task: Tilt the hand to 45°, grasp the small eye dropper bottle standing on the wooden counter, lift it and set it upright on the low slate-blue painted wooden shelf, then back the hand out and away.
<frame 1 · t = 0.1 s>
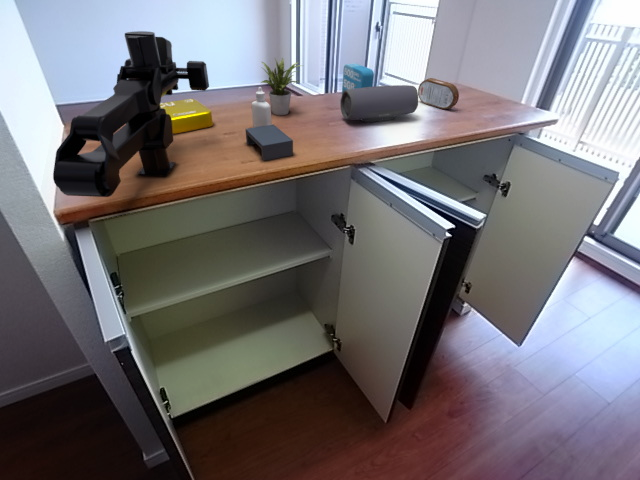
hand: (178, 66, 96), 17 cm above the worktop, tool horizontal, fingers open, 9 cm apart
shelf: (269, 149, 97), on the worktop
data package: (355, 104, 130), on the worktop
eye dropper bottle: (262, 131, 107), on the worktop
tin: (434, 106, 131), on the worktop
house plant: (283, 114, 119), on the worktop
element tile: (181, 123, 110), on the worktop
bluetooth speaker: (377, 119, 118), on the worktop
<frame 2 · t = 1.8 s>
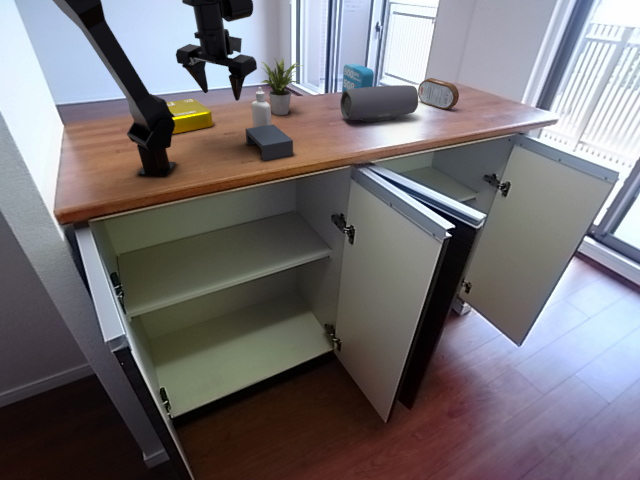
hand: (221, 96, 92), 12 cm above the worktop, tool pointing down, fingers open, 9 cm apart
nothing on the worktop moved.
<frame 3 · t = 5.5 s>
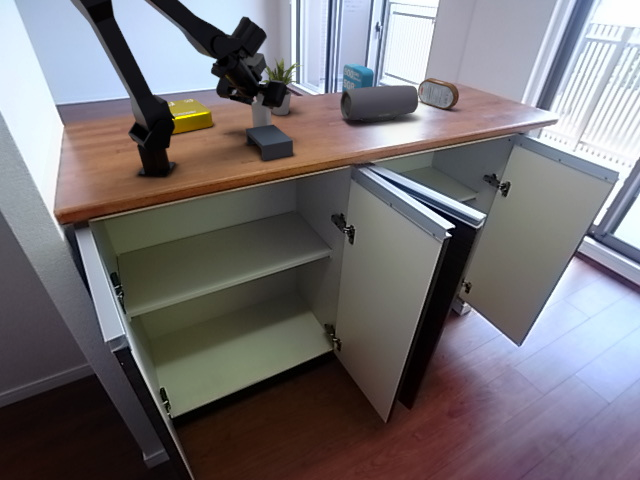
hand: (263, 106, 104), 7 cm above the worktop, tool tilted 45°, fingers closed on eye dropper bottle, 5 cm apart
eye dropper bottle: (262, 131, 107), on the worktop, touching gripper
everything else where it was.
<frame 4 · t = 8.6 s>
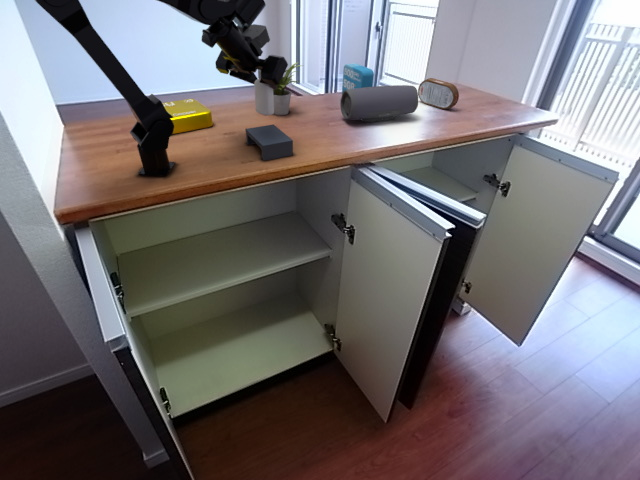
hand: (267, 86, 96), 13 cm above the worktop, tool tilted 45°, fingers closed on eye dropper bottle, 5 cm apart
eye dropper bottle: (264, 113, 99), point 7 cm above the worktop, touching gripper
everything else where it was.
when the fingers open (11 cm above the worktop, at t = 11.5 s): eye dropper bottle stays where it is, resting on shelf.
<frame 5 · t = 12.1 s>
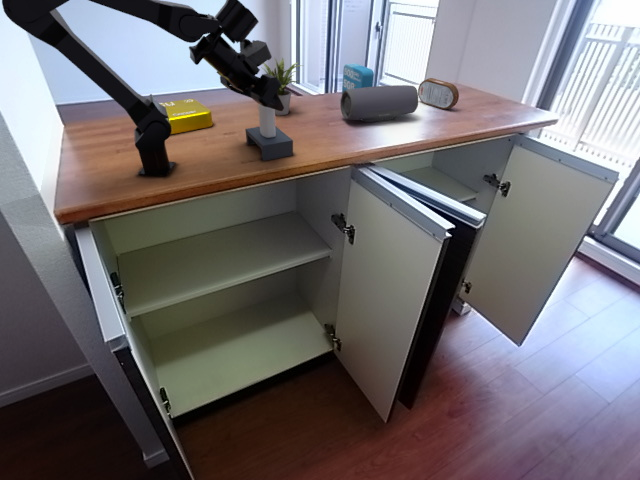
hand: (272, 104, 91), 11 cm above the worktop, tool tilted 45°, fingers open, 9 cm apart
eye dropper bottle: (267, 135, 95), point 4 cm above the worktop, touching shelf
everything else where it was.
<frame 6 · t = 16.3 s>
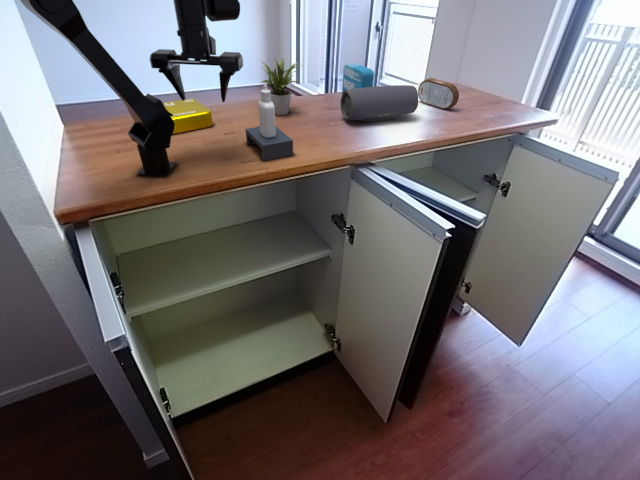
hand: (203, 100, 86), 13 cm above the worktop, tool pointing down, fingers open, 9 cm apart
nothing on the worktop moved.
at the end: eye dropper bottle inside the target area on the shelf (0.2 cm from its centre), point 3.8 cm above the shelf's base; eye dropper bottle tilted 0°; the gripper is holding nothing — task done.
